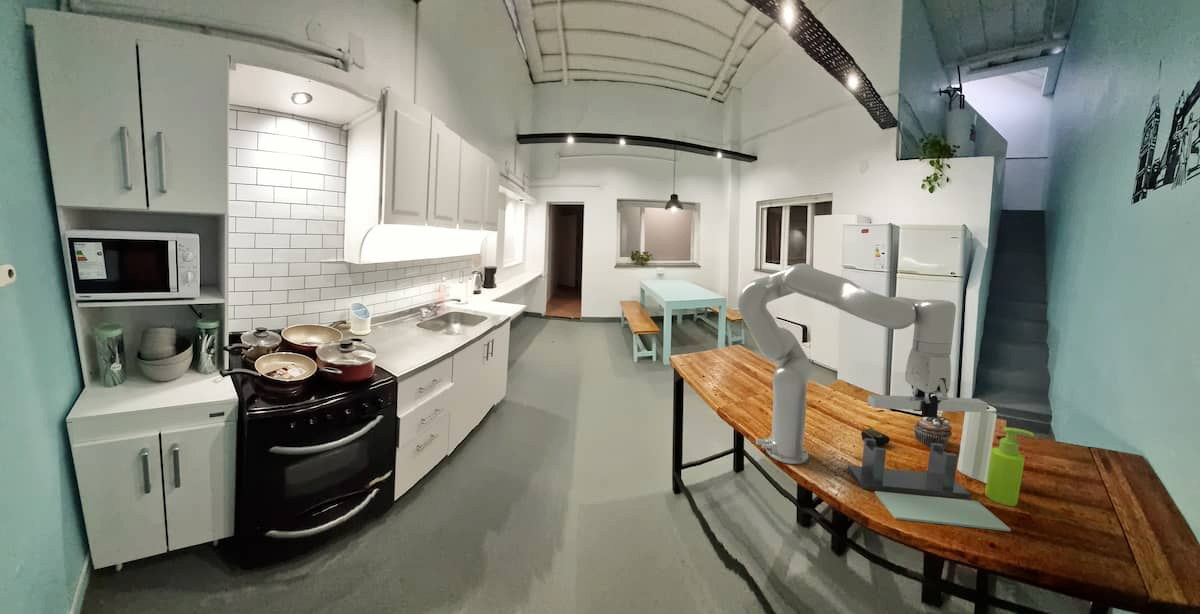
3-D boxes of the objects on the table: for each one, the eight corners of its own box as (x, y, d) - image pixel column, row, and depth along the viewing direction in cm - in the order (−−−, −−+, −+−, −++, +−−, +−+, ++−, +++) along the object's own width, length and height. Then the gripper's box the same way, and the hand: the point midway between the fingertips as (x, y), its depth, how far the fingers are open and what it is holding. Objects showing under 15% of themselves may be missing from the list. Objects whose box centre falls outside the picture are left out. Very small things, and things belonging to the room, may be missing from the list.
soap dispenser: (1027, 510, 94) (1039, 437, 90) (989, 501, 97) (1000, 431, 94) (1017, 496, 98) (1029, 427, 95) (981, 488, 102) (991, 421, 99)
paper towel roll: (957, 465, 113) (966, 399, 110) (985, 473, 109) (996, 405, 105) (956, 475, 108) (966, 407, 105) (986, 484, 104) (997, 413, 100)
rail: (873, 408, 98) (874, 399, 98) (867, 403, 101) (868, 394, 101) (986, 412, 94) (987, 403, 93) (976, 407, 97) (977, 398, 96)
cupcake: (923, 433, 132) (926, 407, 130) (956, 447, 123) (960, 419, 121) (905, 438, 129) (908, 412, 127) (937, 452, 120) (941, 424, 118)
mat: (895, 519, 92) (895, 516, 92) (874, 493, 101) (874, 491, 101) (1010, 531, 87) (1010, 529, 87) (976, 503, 97) (977, 501, 96)
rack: (861, 488, 103) (865, 451, 102) (847, 469, 112) (850, 435, 110) (970, 499, 98) (976, 459, 96) (946, 478, 107) (951, 442, 105)
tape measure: (890, 445, 125) (891, 435, 124) (875, 449, 123) (876, 439, 122) (870, 436, 131) (871, 426, 131) (856, 439, 129) (857, 429, 129)
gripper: (895, 339, 104) (890, 400, 106) (937, 355, 88) (929, 427, 91) (925, 339, 102) (919, 401, 105) (973, 356, 86) (964, 429, 89)
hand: (924, 413), depth 98 cm, fingers closed on rail, 3 cm apart
